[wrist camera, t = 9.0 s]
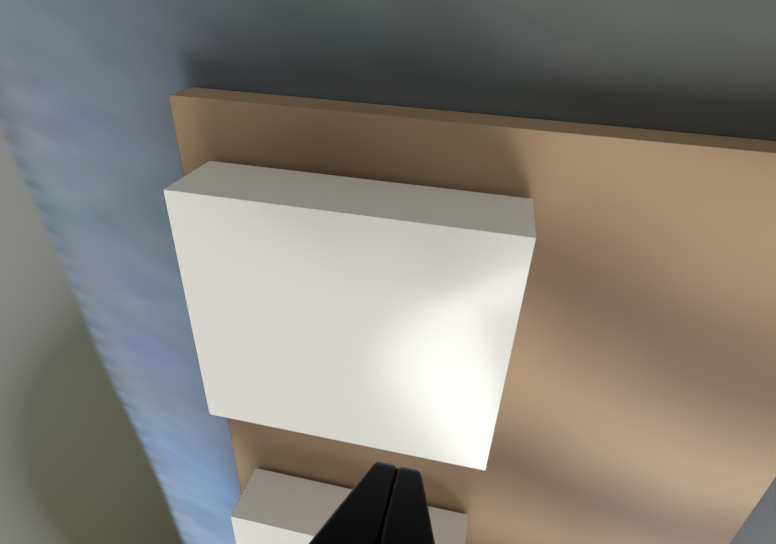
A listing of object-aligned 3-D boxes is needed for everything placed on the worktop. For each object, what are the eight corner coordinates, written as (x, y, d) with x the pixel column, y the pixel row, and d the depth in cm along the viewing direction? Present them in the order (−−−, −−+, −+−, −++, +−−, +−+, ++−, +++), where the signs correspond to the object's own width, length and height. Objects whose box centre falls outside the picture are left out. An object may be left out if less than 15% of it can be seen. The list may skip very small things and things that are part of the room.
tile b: (485, 470, 13) (209, 414, 15) (488, 411, 15) (243, 365, 16) (535, 238, 10) (163, 189, 11) (532, 196, 12) (212, 158, 13)
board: (632, 649, 22) (637, 676, 21) (265, 557, 25) (256, 578, 24) (947, 157, 10) (985, 173, 9) (191, 87, 13) (169, 95, 12)
